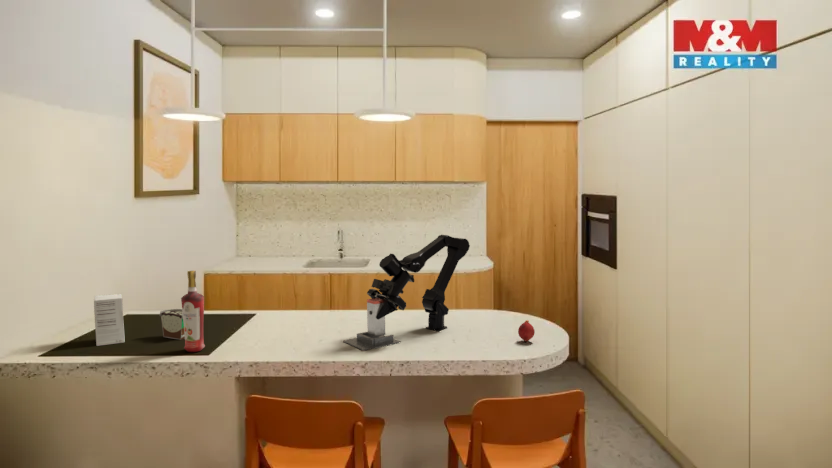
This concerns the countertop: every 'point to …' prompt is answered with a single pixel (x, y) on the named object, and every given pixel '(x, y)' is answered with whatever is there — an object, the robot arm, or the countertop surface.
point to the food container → (172, 323)
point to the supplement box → (109, 319)
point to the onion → (526, 331)
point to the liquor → (193, 316)
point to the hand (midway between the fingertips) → (373, 317)
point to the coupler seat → (370, 341)
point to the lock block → (373, 323)
